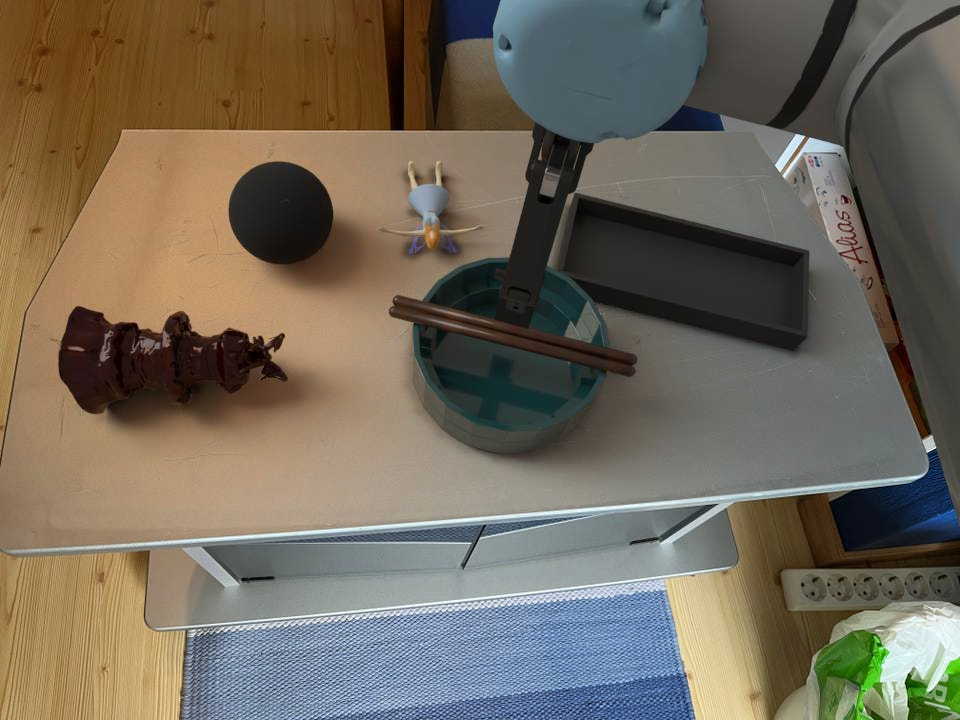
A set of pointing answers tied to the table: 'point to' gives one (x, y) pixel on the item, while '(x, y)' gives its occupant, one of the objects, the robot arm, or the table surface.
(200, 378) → the figurine
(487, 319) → the chopsticks
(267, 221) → the speaker
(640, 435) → the table surface
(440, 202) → the fairy figurine
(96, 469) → the table surface
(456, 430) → the bowl
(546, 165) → the robot arm
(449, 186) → the table surface
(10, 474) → the table surface
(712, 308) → the tray
